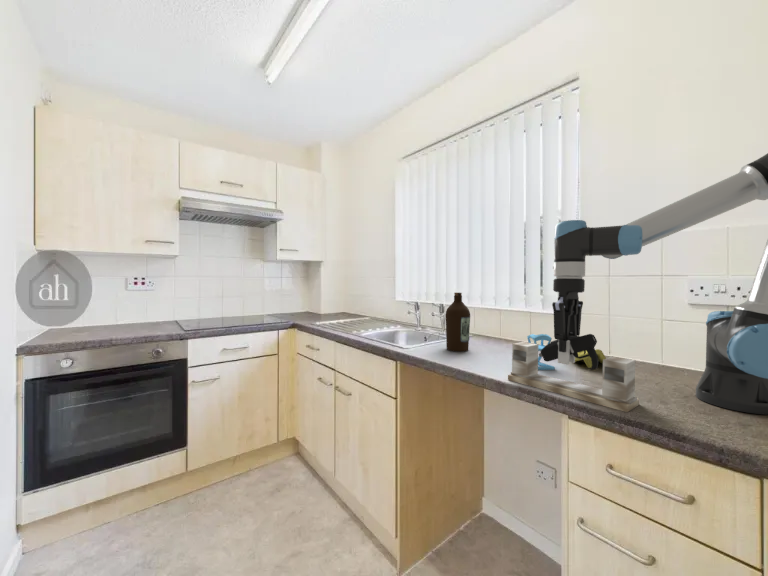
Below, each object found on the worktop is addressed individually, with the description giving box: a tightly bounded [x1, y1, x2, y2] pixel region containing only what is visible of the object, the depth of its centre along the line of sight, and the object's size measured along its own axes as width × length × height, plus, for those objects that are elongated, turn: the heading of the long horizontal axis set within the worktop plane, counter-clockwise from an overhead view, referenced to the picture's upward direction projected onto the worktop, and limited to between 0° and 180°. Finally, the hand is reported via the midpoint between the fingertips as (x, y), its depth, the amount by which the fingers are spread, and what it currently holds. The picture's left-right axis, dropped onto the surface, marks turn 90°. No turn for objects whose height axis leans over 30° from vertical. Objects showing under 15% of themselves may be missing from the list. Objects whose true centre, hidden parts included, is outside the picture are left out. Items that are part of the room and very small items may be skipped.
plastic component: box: [575, 348, 607, 369], centre depth 123 cm, size 20×7×10 cm
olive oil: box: [445, 292, 471, 353], centre depth 146 cm, size 11×11×25 cm
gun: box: [538, 333, 599, 371], centre depth 92 cm, size 3×16×10 cm, turn 37°
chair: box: [526, 333, 556, 371], centre depth 118 cm, size 8×8×12 cm
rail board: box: [507, 341, 640, 413], centre depth 92 cm, size 31×8×11 cm, turn 37°
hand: (566, 362), depth 92 cm, fingers closed on gun, 3 cm apart
